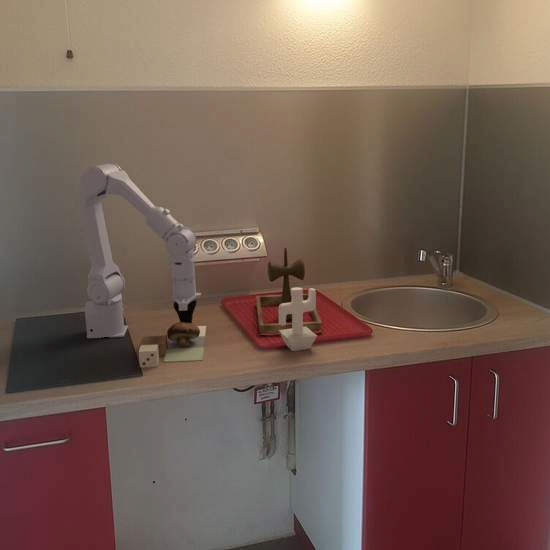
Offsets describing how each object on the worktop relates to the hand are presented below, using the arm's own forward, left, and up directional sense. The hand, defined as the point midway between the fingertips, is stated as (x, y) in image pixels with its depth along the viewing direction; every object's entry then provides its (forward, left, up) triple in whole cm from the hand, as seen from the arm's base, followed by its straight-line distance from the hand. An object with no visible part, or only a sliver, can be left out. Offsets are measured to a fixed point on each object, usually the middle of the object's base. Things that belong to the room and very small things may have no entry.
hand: (186, 329), depth 175 cm
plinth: (-8, -8, -3) cm, 11 cm away
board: (0, -3, -3) cm, 4 cm away
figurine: (+27, -9, -3) cm, 29 cm away
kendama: (+26, +13, -3) cm, 30 cm away
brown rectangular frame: (+26, +13, -3) cm, 30 cm away
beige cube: (-8, -14, -1) cm, 16 cm away
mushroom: (-1, -4, -3) cm, 5 cm away
